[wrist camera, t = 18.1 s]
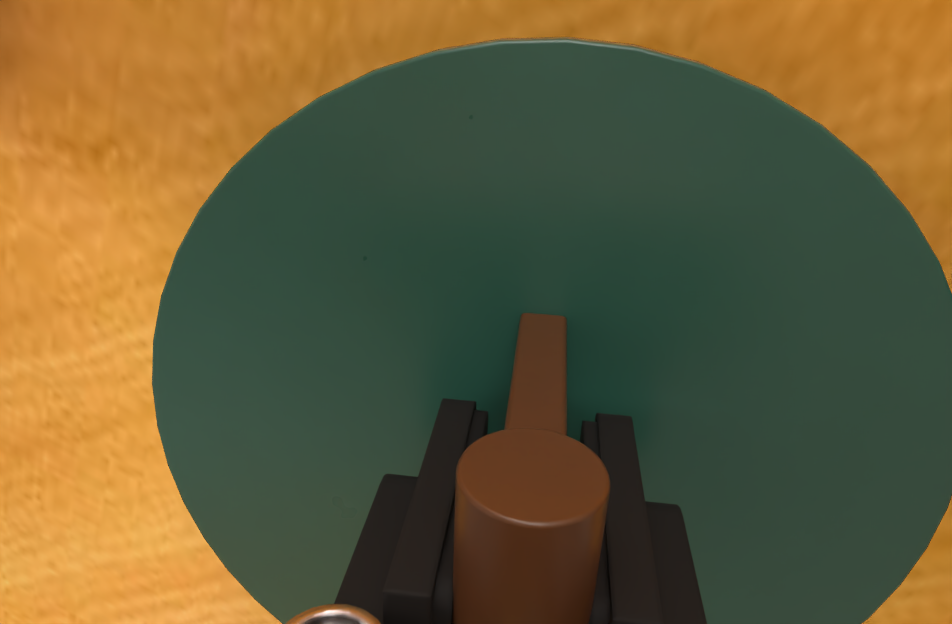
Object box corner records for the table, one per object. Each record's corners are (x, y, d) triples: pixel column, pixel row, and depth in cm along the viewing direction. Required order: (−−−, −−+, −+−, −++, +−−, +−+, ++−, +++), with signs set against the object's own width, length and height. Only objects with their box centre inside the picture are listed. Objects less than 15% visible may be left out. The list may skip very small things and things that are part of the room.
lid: (228, 636, 16) (60, 952, 11) (121, 14, 10) (-349, 31, 5) (820, 716, 15) (963, 1117, 9) (1074, 57, 9) (1797, 140, 4)
